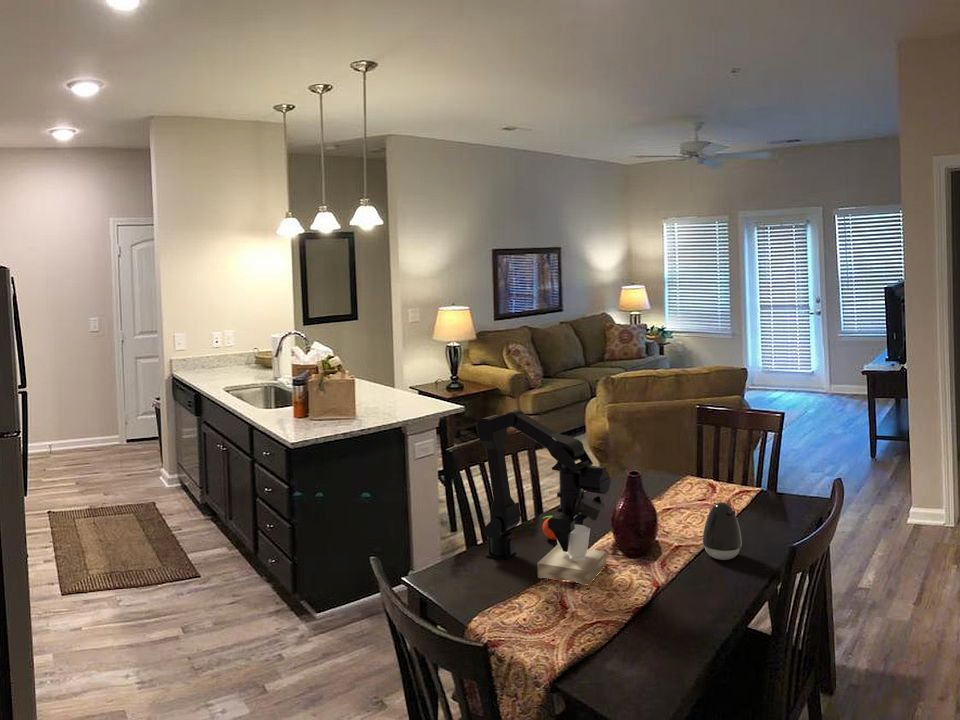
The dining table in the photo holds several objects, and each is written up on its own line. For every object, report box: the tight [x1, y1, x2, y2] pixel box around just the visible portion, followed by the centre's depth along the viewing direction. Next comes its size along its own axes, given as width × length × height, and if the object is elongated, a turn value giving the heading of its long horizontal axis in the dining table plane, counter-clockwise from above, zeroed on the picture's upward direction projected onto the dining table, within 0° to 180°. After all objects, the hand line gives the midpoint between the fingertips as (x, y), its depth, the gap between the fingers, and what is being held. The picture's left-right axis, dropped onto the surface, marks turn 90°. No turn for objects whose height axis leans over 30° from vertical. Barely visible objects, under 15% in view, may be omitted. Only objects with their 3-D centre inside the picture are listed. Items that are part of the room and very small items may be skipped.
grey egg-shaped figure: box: [702, 501, 743, 561], centre depth 216 cm, size 10×10×15 cm
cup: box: [556, 524, 591, 561], centre depth 209 cm, size 7×10×8 cm
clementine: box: [540, 515, 557, 541], centre depth 234 cm, size 8×7×7 cm
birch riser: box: [536, 544, 607, 585], centre depth 210 cm, size 14×14×4 cm
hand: (571, 545), depth 209 cm, fingers open, 9 cm apart
